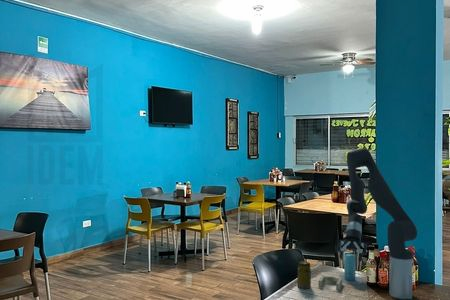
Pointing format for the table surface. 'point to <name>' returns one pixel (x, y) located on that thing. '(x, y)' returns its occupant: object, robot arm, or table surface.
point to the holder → (330, 283)
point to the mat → (357, 281)
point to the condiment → (304, 275)
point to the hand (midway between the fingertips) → (350, 260)
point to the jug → (350, 267)
